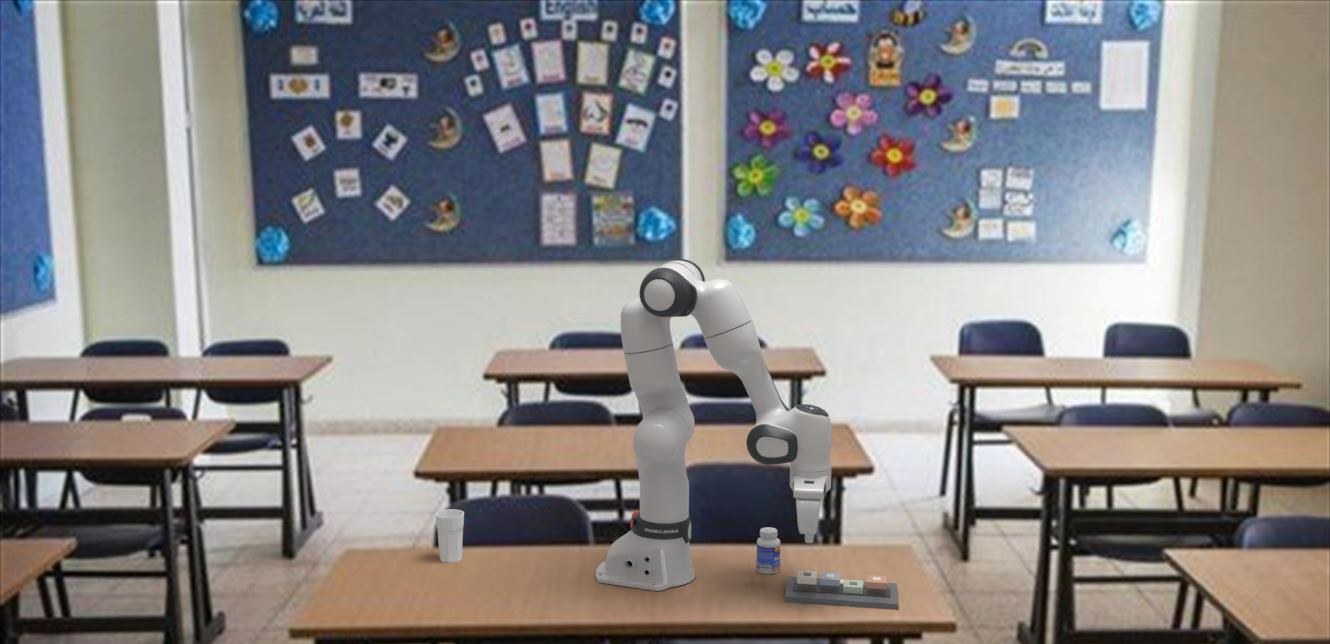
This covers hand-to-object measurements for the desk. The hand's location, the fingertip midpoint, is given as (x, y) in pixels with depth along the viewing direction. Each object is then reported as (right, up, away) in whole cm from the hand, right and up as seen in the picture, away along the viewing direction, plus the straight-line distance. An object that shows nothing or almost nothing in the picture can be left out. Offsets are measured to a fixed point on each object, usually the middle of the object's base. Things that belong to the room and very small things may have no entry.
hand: (809, 541), depth 271 cm
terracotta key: (+15, -9, -1) cm, 17 cm away
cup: (-82, -8, +21) cm, 85 cm away
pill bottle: (-8, -10, +15) cm, 20 cm away
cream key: (0, -9, +2) cm, 9 cm away
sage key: (+10, -11, 0) cm, 14 cm away
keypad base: (+7, -12, +1) cm, 14 cm away
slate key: (+5, -9, +1) cm, 10 cm away
